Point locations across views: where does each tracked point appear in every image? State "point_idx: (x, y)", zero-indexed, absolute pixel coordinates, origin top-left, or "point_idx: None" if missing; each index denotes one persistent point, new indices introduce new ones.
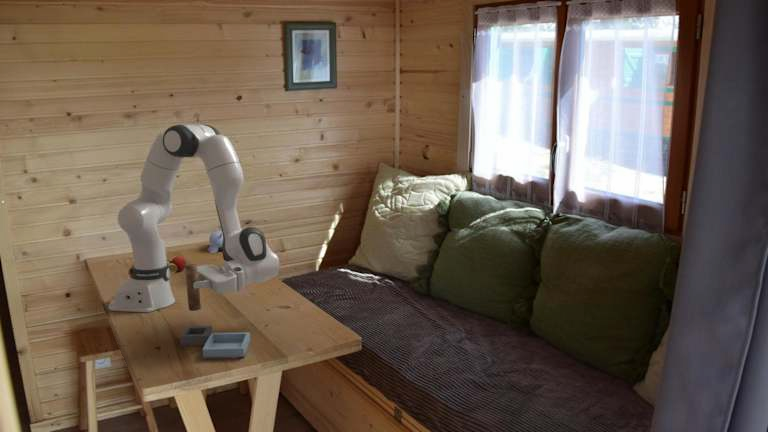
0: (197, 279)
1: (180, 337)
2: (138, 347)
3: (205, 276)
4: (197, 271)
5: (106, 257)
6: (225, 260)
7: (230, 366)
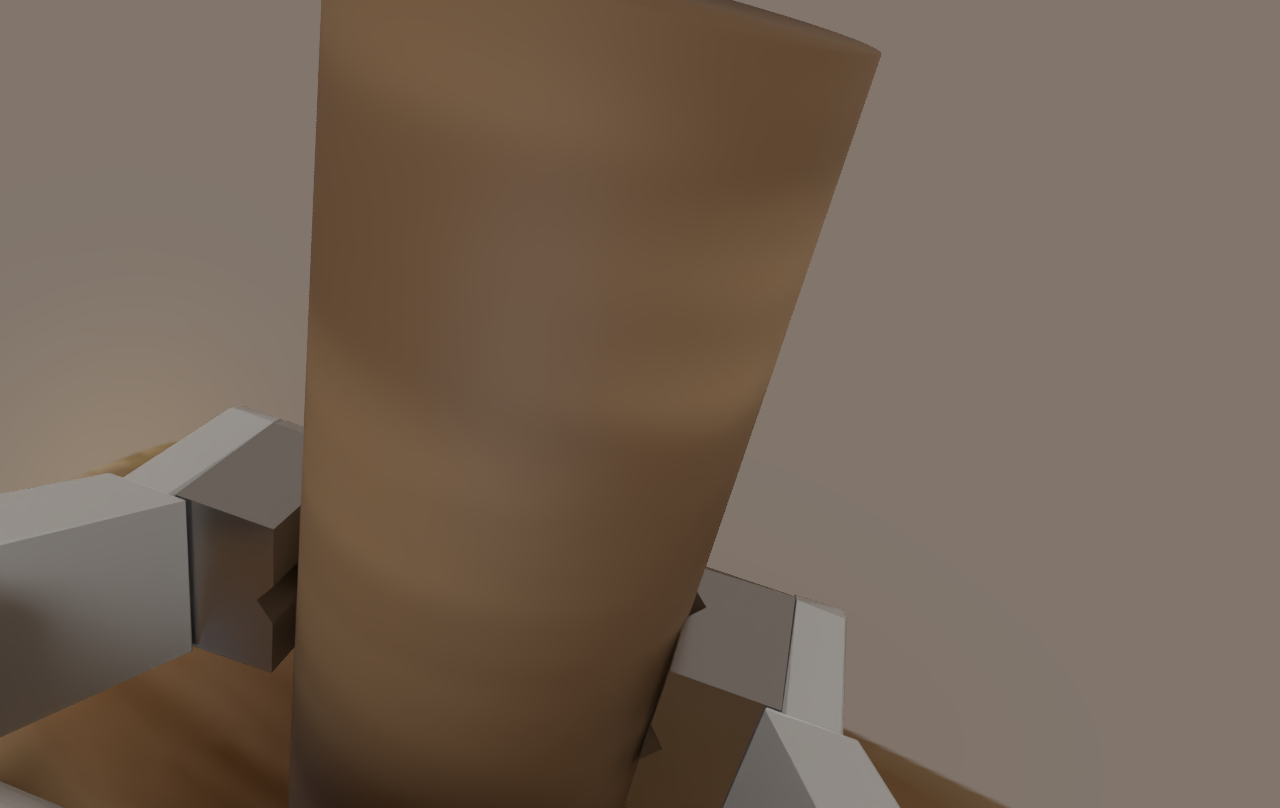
0: (304, 529)
1: None
2: None
3: (40, 799)
4: (344, 290)
5: None
6: None
7: None
